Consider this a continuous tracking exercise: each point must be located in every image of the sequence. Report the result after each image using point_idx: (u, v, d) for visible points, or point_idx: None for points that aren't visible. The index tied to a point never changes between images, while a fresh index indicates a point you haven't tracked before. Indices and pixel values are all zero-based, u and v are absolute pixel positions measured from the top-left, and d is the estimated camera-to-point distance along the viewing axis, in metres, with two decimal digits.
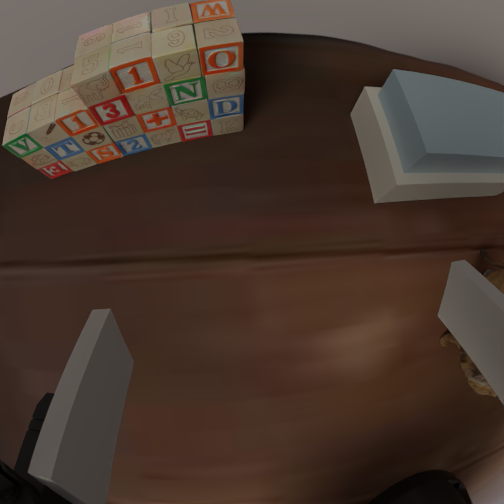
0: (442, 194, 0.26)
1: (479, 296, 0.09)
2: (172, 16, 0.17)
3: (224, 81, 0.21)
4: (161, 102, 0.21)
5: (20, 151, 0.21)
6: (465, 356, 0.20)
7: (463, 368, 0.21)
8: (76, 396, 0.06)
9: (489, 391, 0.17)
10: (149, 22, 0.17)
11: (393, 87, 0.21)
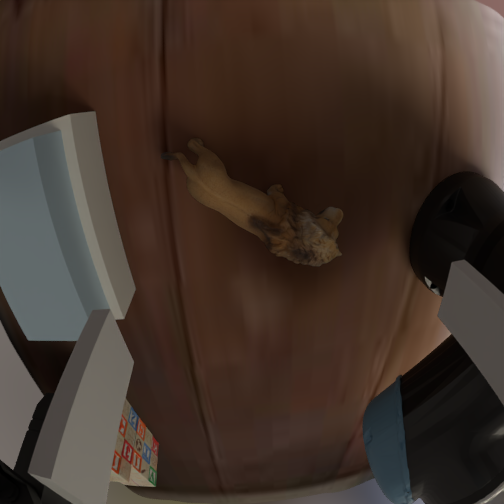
0: (111, 227, 0.26)
1: (479, 296, 0.09)
2: None
3: None
4: None
5: (154, 474, 0.38)
6: None
7: None
8: (76, 396, 0.06)
9: None
10: None
11: None
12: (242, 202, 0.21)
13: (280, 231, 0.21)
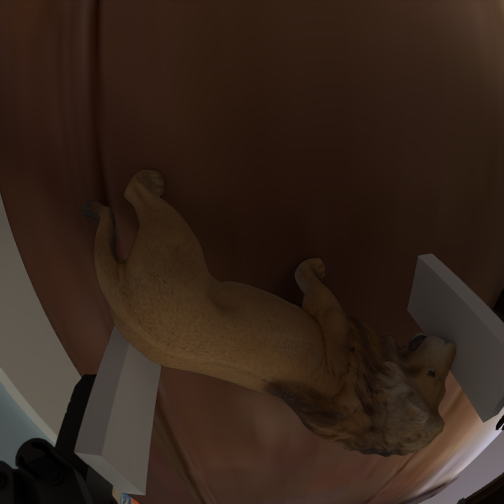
0: (36, 333, 0.13)
1: (443, 289, 0.09)
2: None
3: None
4: None
5: None
6: None
7: None
8: (121, 373, 0.07)
9: None
10: None
11: None
12: (249, 358, 0.08)
13: (339, 417, 0.08)
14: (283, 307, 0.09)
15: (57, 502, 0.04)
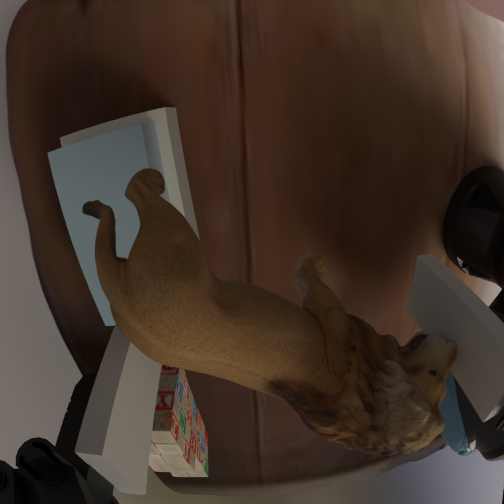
0: (192, 215, 0.30)
1: (443, 289, 0.09)
2: None
3: (177, 410, 0.33)
4: (186, 424, 0.36)
5: (206, 464, 0.43)
6: None
7: None
8: (122, 373, 0.07)
9: None
10: (150, 454, 0.32)
11: None
12: (250, 357, 0.08)
13: (339, 416, 0.08)
14: (284, 306, 0.09)
15: (57, 502, 0.04)
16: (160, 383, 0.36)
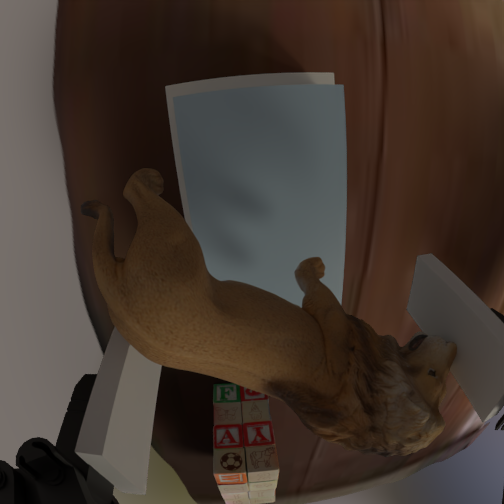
0: None
1: (443, 289, 0.09)
2: (236, 488, 0.25)
3: None
4: None
5: None
6: None
7: None
8: (122, 373, 0.07)
9: None
10: (235, 492, 0.26)
11: None
12: (248, 358, 0.08)
13: (338, 416, 0.08)
14: (283, 306, 0.09)
15: (58, 502, 0.04)
16: (249, 412, 0.30)
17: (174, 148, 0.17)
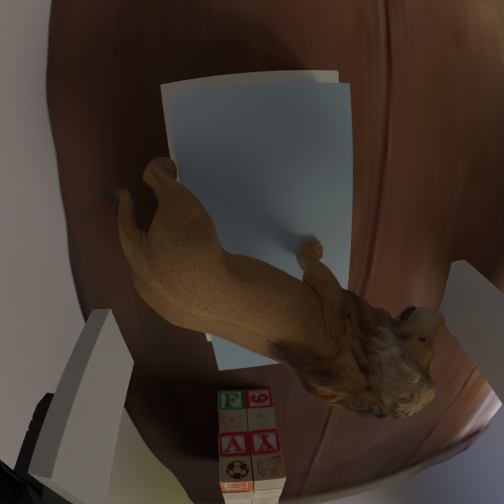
0: None
1: (479, 296, 0.09)
2: (241, 496, 0.24)
3: None
4: None
5: None
6: None
7: None
8: (76, 396, 0.06)
9: None
10: (239, 499, 0.25)
11: None
12: (256, 318, 0.09)
13: (337, 376, 0.09)
14: (285, 276, 0.11)
15: None
16: (255, 420, 0.29)
17: (170, 150, 0.16)
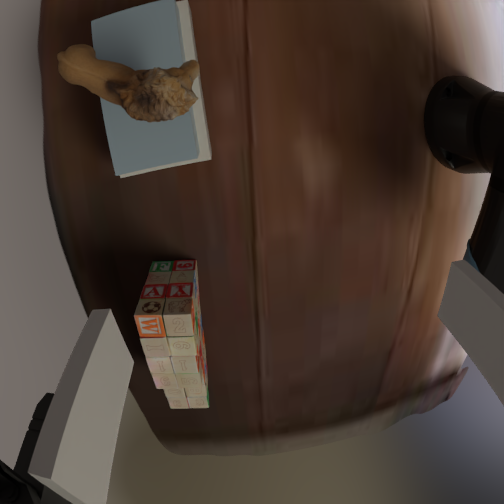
0: (201, 91, 0.31)
1: (479, 296, 0.09)
2: (157, 347, 0.32)
3: (194, 302, 0.35)
4: None
5: (207, 394, 0.45)
6: (150, 121, 0.20)
7: None
8: (76, 396, 0.06)
9: (185, 104, 0.18)
10: (158, 357, 0.33)
11: None
12: (99, 70, 0.17)
13: (128, 84, 0.17)
14: (120, 63, 0.18)
15: None
16: (176, 277, 0.37)
17: None
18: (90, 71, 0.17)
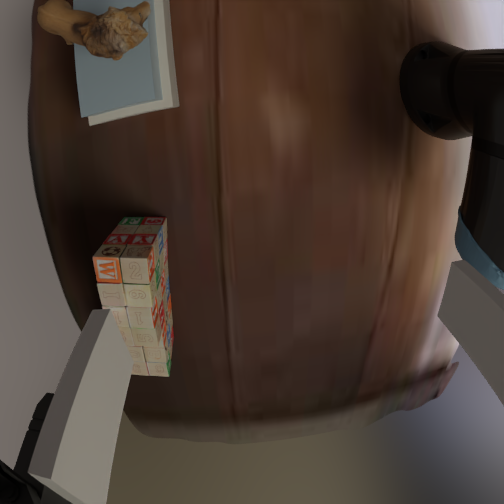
0: (171, 48, 0.29)
1: (479, 296, 0.09)
2: (113, 294, 0.31)
3: (155, 253, 0.34)
4: (159, 285, 0.37)
5: (169, 363, 0.43)
6: (107, 57, 0.19)
7: (122, 54, 0.19)
8: (76, 396, 0.06)
9: (132, 34, 0.16)
10: (114, 306, 0.32)
11: (95, 114, 0.26)
12: (68, 16, 0.16)
13: (88, 23, 0.16)
14: None
15: None
16: (142, 229, 0.36)
17: None
18: (61, 17, 0.16)
